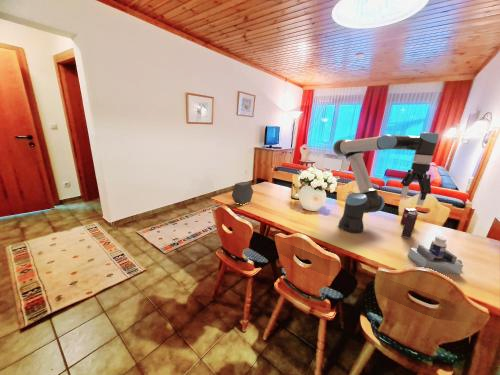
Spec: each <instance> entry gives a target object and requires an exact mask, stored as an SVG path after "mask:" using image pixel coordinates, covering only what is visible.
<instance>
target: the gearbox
mask: <svg viewBox="0 0 500 375" xmlns="http://www.w3.org/2000/svg"><path fill="white" fill-rule="evenodd" d="M429 249H430V248H429ZM429 249H428V248H426V247H425V246H424V245H423V244H418V245H417V248H415V247H409V250H408V254H407V257H408V258H410V260H412V262H414V263H415V264H416V265H417V266H418V267H419V268H420V267H424V268H429V269H432V270H434V271H437V272H436V273H443V274H452V275H461V272H462V269H463V267H464V265H463V261H462V260H461V259H459V258H457V257H458V256H456V255H454V254H453V252H450V251H449V250H448V249H446V250H445V252H444V255H443V257H442V258H435V255H434V254H433V253H432V252H430V251H429Z"/></svg>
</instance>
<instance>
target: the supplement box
mask: <svg viewBox="0 0 500 375" xmlns="http://www.w3.org/2000/svg"><path fill="white" fill-rule="evenodd" d="M418 215H419V212H418V211H417V212H415V211H411V210H409V213H408V215H407V218H406V222H405V225H403V230H402V233H401V236H400V237H402V238H404V239H407V240H408V239H409V240H410V239H411V237H412V235H413V231H414V228H415V225H416V221H417V218H418Z"/></svg>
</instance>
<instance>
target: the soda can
mask: <svg viewBox="0 0 500 375" xmlns="http://www.w3.org/2000/svg"><path fill="white" fill-rule="evenodd" d="M409 210H411V211H415V212H418V210H417V209H416V208H413V207H404V208H403V212H402V216H401V220H400V225H402V226H404V225H405V222H406V218H407V215H408V213H409Z"/></svg>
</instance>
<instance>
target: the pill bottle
mask: <svg viewBox="0 0 500 375" xmlns="http://www.w3.org/2000/svg"><path fill="white" fill-rule="evenodd" d="M446 242H447V238H446V237H444V236H440V235H436V236H435V237H434V239H433V240H432V241H431V243H430V246H429V251H430V252H432V253H433V254H434V255H435V258H442V257H443V255H444V252H445V250H447V247H448V245H447V243H446Z"/></svg>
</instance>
